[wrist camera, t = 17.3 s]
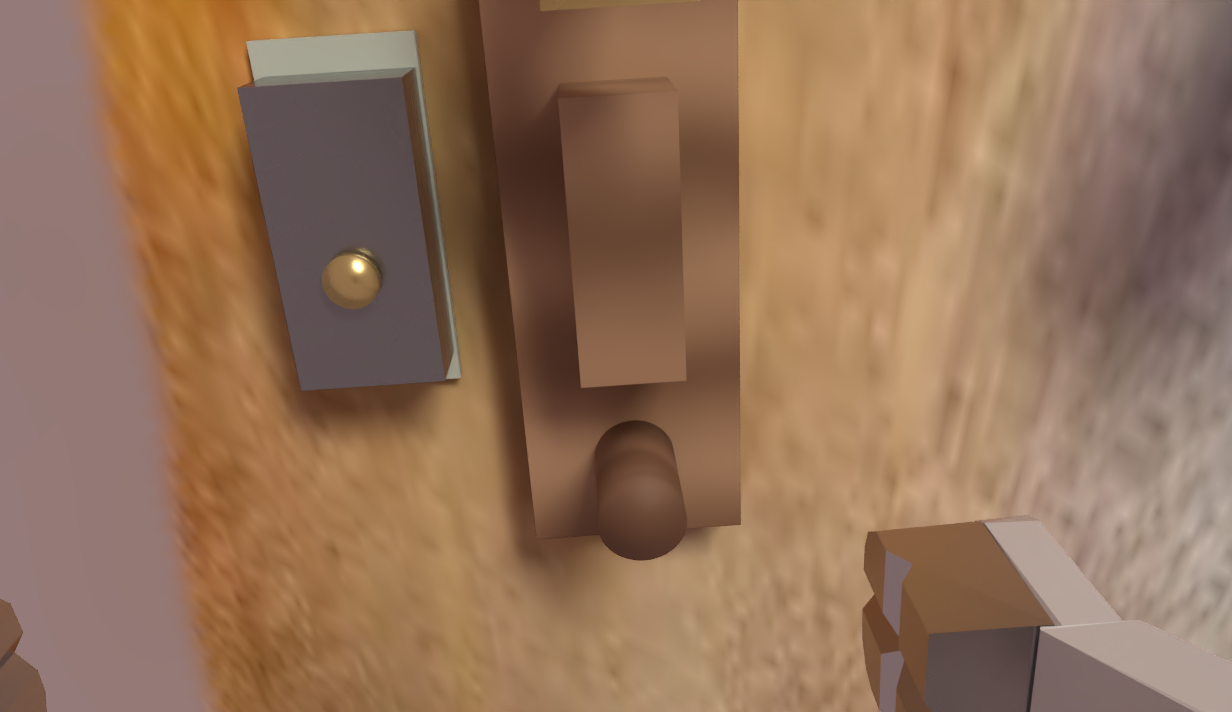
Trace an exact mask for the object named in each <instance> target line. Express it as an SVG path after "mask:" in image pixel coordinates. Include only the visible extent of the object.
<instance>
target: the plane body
mask: <svg viewBox="0 0 1232 712" xmlns="http://www.w3.org/2000/svg"><path fill="white" fill-rule="evenodd" d="M479 9H480V18H481V27H482V37H483V46H484V55H485V64H486V74H487V83H488V92H489V101H490V111H491V120H492V129H493V139H494V148H495V157H496V166H497V176H498V185H499V194H500V203H501V213H502V222H503V231H504V241H505V250H506V259H507V268H508V278H509V287H510V296H511V305H512V315H513V324H514V333H515V343H516V352H517V361H518V370H519V380H520V389H521V398H522V407H523V417H524V426H525V435H526V445H527V454H528V463H529V472H530V482H531V491H532V500H533V509H534V519H535V528H536V537H537V539H548V538H562V537H576V536H590V535H600V536H601V538H602V540H603V542H604V543H605V545H606V546H607V547H608V548H609V549H610V550H611V551H613V552H614V553H616V554H617V555H619V556H621V557H624V558H627V559H632V560H651V559H655V558H658V557H661V556H663V555H665V554H667V553H668V552H670V551H671V550H673V549H674V548H675V547H676V546H677V545H678V544H679V542H680V541H681V540H682V538H683V536H684V534H685V531H686V529H688V528H702V527H716V526H730V525H741V494H740V308H739V122H738V0H700V1H693V2H677V3H661V4H645V5H629V6H613V7H598V8H582V9H566V10H550V11H540V1H539V0H479Z"/></svg>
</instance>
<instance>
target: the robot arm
mask: <svg viewBox="0 0 1232 712" xmlns="http://www.w3.org/2000/svg"><path fill="white" fill-rule="evenodd" d="M864 571H865V573H866V576H867V578H868V580H869V583H870V585H871V587H872V589H873V592H874V595H873V597H872V598H871V599H870V600H869V602H868V603H867V604H866V605H865V607H864V608H863V611H862V639H863V647H864V656H865V664H866V670H867V674H868V678H869V682H870V685H871V689H872V692H873V695H874V697H875V700H876V703H877V706H878V708H879V711H881V712H1232V662H1230V661H1227V660H1225V659H1223V658H1221V657H1219V656H1217V655H1215V654H1212V653H1210V652H1208V651H1206V650H1204V649H1202V648H1199V647H1197V646H1195V645H1193V644H1191V643H1189V642H1187V641H1184V640H1182V639H1180V638H1178V637H1176V636H1174V635H1171V634H1169V633H1167V632H1165V631H1163V630H1161V629H1158V628H1156V627H1154V626H1152V625H1150V624H1148V623H1146V622H1143V621H1141V620H1135V621H1122V620H1121V618H1120V617H1119V616H1118V615H1117V614H1116V612H1115V611H1114V610H1113V609H1112V608H1111V606H1110V605H1109V604H1108V603H1107V602H1106V600H1105V599H1104V598H1103V597H1102V596H1101V594H1100V593H1099V592H1098V591H1097V590H1096V588H1095V587H1094V586H1093V585H1092V584H1091V582H1090V581H1089V580H1088V579H1087V578H1086V576H1085V575H1084V574H1083V573H1082V571H1081V570H1080V569H1079V568H1078V567H1077V565H1076V564H1075V563H1074V562H1073V561H1072V559H1071V558H1070V557H1069V556H1068V555H1067V553H1066V552H1065V551H1064V550H1063V549H1062V547H1061V546H1060V545H1059V544H1058V543H1057V541H1056V540H1055V539H1054V538H1053V537H1052V535H1051V534H1050V533H1049V532H1048V531H1047V529H1046V528H1045V527H1044V526H1043V525H1042V523H1041V522H1040V521H1039V520H1038V519H1036V518H1033V517H1031V516H1029V515H1024V516H1015V517H1006V518H997V519H988V520H979V521H975V522H966V523H956V524H945V525H935V526H924V527H914V528H903V529H892V530H882V531H871V532H868V535H867V539H866V543H865V553H864ZM22 633H23V631H22V629H21V626H20V624H19V622H18V619H17V617H16V615H15V613H14V610H13V608H12V606H11V604H10V603H8V602H6V601H4V600H2V599H0V712H47V709H46V694H45V689H44V686H43V684H42V681H41V678H40V675H39V673H38V670H36V669H35V668H34V667H33V666H31V665H30V664H29V663H27V662H26V661H25V660H23V659H22V658H21V657H20V656H19V655H17V654H16V653H15V650H16V647H17V645H18V643H19V641H20V638H21V636H22Z"/></svg>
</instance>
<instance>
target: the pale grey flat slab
mask: <svg viewBox="0 0 1232 712" xmlns="http://www.w3.org/2000/svg"><path fill="white" fill-rule="evenodd" d="M246 43H247V48H248V53H249V58H250V63H251V67H252V72H253V77H254V81H255V80H257V79H260V78H262V77H267V76H283V75H298V74H314V73H329V72H344V71H360V70H375V69H391V68H406V67H416V74H417V81H418V89H419V96H420V103H421V111H422V118H423V125H424V132H425V140H426V147H427V154H428V162H429V169H430V176H431V183H432V191H433V198H434V205H435V213H436V220H437V227H438V234H439V242H440V249H441V256H442V264H443V271H444V278H445V285H446V293H447V300H448V307H449V315H450V322H451V329H452V337H453V344H454V353H453V357H452V360H451V363H450V367H449V370H448V373H447V377H446V379H455V378H461V375H462V369H461V362H460V354H459V347H458V340H457V332H456V325H455V317H454V310H453V302H452V295H451V287H450V280H449V272H448V265H447V258H446V250H445V243H444V235H443V228H442V220H441V213H440V205H439V198H438V190H437V183H436V176H435V168H434V161H433V153H432V146H431V138H430V131H429V123H428V116H427V109H426V101H425V94H424V86H423V79H422V71H421V64H420V56H419V49H418V41H417V34H416V30H410V31H395V32H379V33H363V34H347V35H332V36H316V37H300V38H284V39H268V40H253V41H248V42H246Z"/></svg>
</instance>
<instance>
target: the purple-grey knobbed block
mask: <svg viewBox="0 0 1232 712" xmlns="http://www.w3.org/2000/svg"><path fill="white" fill-rule="evenodd" d="M237 89H238V94H239V99H240V104H241V108H242V113H243V118H244V123H245V127H246V132H247V137H248V141H249V146H250V151H251V156H252V160H253V165H254V170H255V175H256V179H257V184H258V189H259V193H260V198H261V203H262V208H263V212H264V217H265V222H266V227H267V231H268V236H269V241H270V246H271V250H272V255H273V260H274V264H275V269H276V274H277V279H278V283H279V288H280V293H281V298H282V302H283V307H284V312H285V316H286V321H287V326H288V331H289V335H290V340H291V345H292V350H293V354H294V359H295V364H296V369H297V373H298V378H299V383H300V387H301V391H307V390H322V389H336V388H350V387H365V386H379V385H393V384H408V383H422V382H436V381H445V380H446V377H447V373H448V370H449V367H450V363H451V360H452V357H453V353H454V344H453V337H452V329H451V322H450V315H449V307H448V300H447V293H446V285H445V278H444V271H443V264H442V256H441V249H440V242H439V234H438V227H437V220H436V213H435V205H434V198H433V191H432V183H431V176H430V169H429V162H428V154H427V147H426V140H425V132H424V125H423V118H422V111H421V103H420V96H419V89H418V81H417V74H416V67H406V68H391V69H375V70H360V71H344V72H329V73H314V74H298V75H283V76H267V77H262V78H260V79H257V80H255V81H253V82H250V83H248V84H245V85H243V86H241V87H238V88H237Z"/></svg>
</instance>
